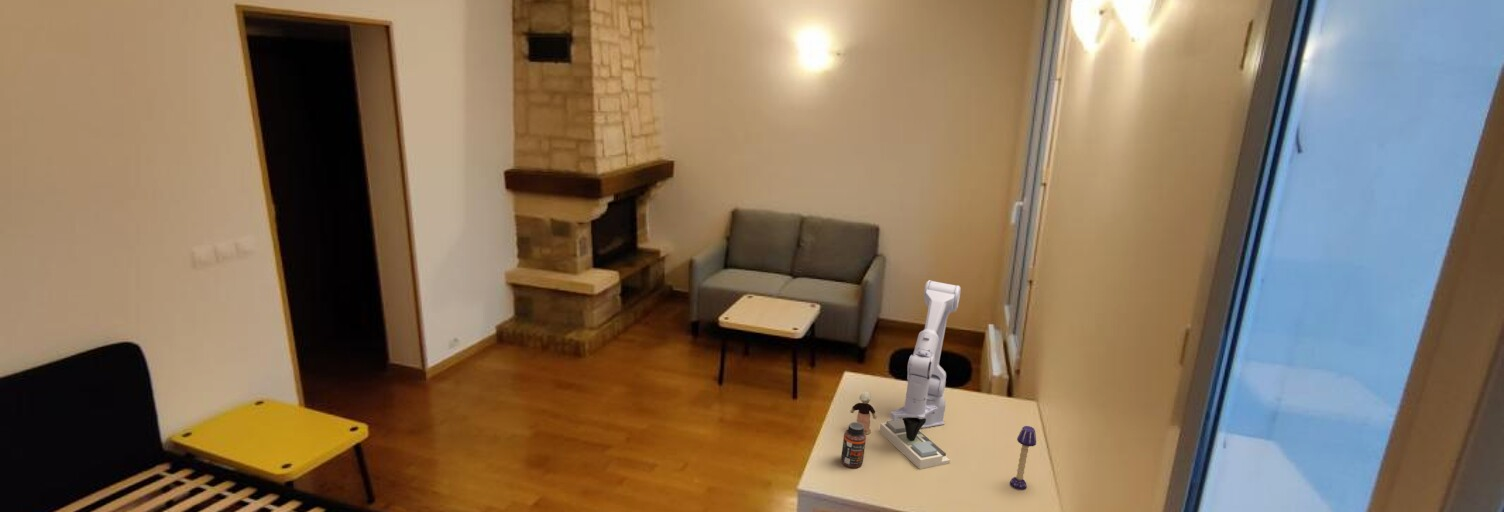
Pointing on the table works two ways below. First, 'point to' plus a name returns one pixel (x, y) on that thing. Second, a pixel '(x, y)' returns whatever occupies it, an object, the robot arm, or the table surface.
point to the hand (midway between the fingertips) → (910, 438)
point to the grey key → (896, 426)
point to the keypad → (910, 453)
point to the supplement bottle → (853, 445)
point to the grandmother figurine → (864, 411)
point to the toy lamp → (1023, 455)
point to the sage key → (907, 441)
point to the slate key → (924, 449)
